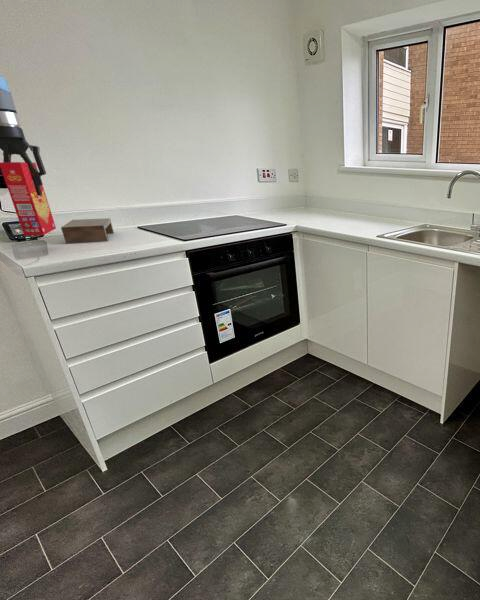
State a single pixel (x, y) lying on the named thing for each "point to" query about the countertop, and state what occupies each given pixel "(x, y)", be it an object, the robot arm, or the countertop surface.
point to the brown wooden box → (87, 230)
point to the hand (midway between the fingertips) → (28, 194)
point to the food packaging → (27, 199)
